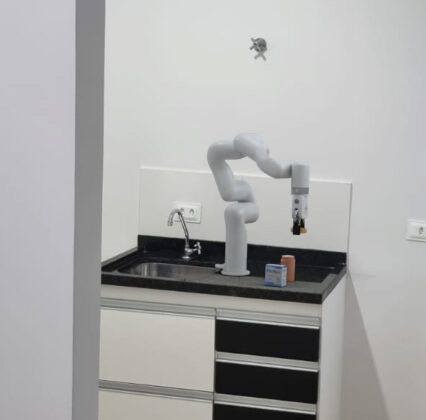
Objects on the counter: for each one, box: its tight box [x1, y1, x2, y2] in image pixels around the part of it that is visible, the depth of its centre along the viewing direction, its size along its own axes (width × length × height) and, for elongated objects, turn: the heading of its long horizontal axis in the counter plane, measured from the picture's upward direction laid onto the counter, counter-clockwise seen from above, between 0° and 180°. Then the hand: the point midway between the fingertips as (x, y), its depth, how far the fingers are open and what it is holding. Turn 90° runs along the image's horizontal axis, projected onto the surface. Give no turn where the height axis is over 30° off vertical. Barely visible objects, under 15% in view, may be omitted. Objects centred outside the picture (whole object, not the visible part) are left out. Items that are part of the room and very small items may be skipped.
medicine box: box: [264, 263, 287, 288], centre depth 358 cm, size 8×4×9 cm, turn 66°
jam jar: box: [280, 254, 296, 283], centre depth 371 cm, size 6×6×10 cm
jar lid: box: [290, 226, 308, 234], centre depth 362 cm, size 7×7×2 cm
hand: (298, 233), depth 362 cm, fingers closed on jar lid, 6 cm apart
